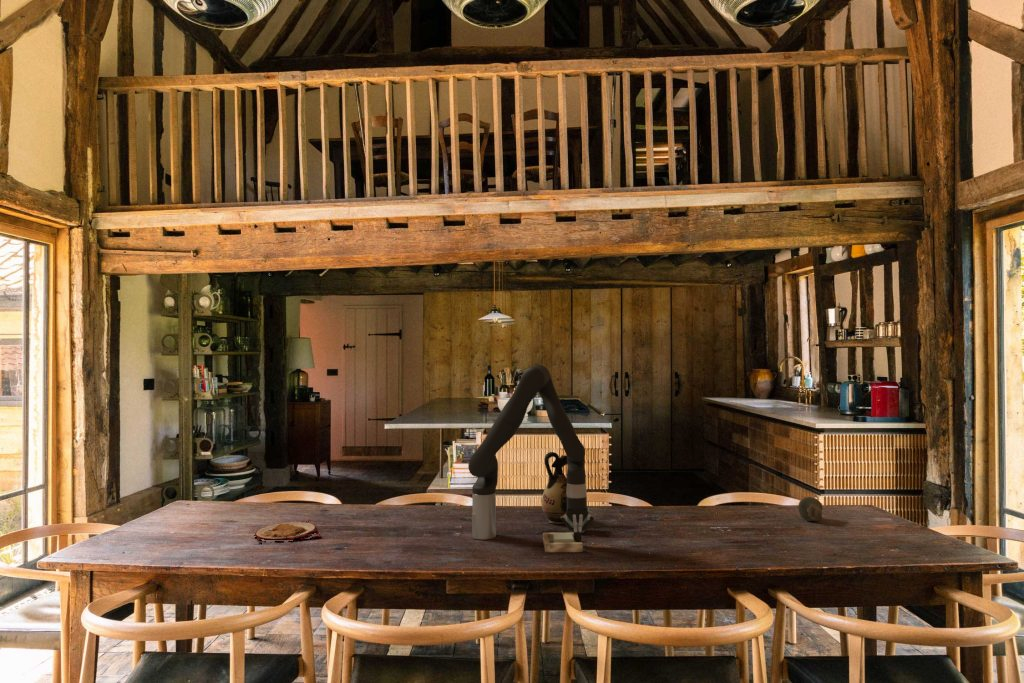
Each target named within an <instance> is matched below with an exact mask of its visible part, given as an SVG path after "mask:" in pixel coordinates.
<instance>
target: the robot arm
mask: <svg viewBox="0 0 1024 683" xmlns="http://www.w3.org/2000/svg"><path fill="white" fill-rule="evenodd" d="M537 394H539V395H540V398H541V399H542V402H543V404H544V407H545V411H546V414H547V417H548V421H549V422H550V425H551V427H552V429H553V430H554V433H555V435H556V436H557V437H558V439H559V441H560V444H561V446H562V448H563V450H564V452H565V454H566V456H567V464H566V465H567V467H566V468H567V470H566V478H567V492H566V494H567V510H566V514H565V515H564V516H561V520H562V521H563V523H564V524H563V525H564V526H566V528H567V529H568V530H569V532H571V531H573V533H574V540H575V542H581V541H582V533H581V532H582V531H584V530H585V531H586V530H587V529H588V528H589V526H590V525H591V524H592V522H593V521H594V520H595V518H594V516H593V515H592V514H590V512H589V513H588V510H587V507H588V499H587V498H588V495H587V494H588V492H587V483H586V481H587V478H586V477H587V476H586V470H585V468H586V467H585V464H586V463H585V456H586V449H585V446H584V444H583V443H582V442H581V441H580V438H579V436H578V435H577V432H576V430H575V428H574V425H573V423H572V421H571V420H570V417H569V416H568V414H567V413H566V411H565V408H564V406H563V405H562V403H561V400H560V397H559V396H558V393H557V391H556V388H555V385H554V382H553V379H552V376H551V374H550V372H549V370H548V368H547V367H546V366H545V365H542V364H534V365H531V366H529V367H527V368H526V369H525V370H524V371H523V373H522V375H521V377H520V379H519V381H518V383H517V386H516V388H515V390H514V392H513V393H512V395H511V396H510V398H509V399H508V400H507V402H506V403H505V405H504V406H503V407H502V409H501V410H500V412H499V413H498V416H497V417H496V419H495V420H494V422H493V424H492V426H491V427H490V429H489V430H488V432H487V434H486V435H485V438H484V440H483V441H482V442H481V443H480V445H479V446H478V447H477V449H476V450H475V451H474V452H473V453H472V454H471V457H470V458H469V461H468V463H467V464H468V472H469V473H470V474H471V476H473V477H477V479H476V481H475V483H474V484H473V485H472V488H471V489H472V490H471V491H472V494H471V495H472V500H471V501H472V510H471V511H472V514H471V536H472V537H471V539H475V540H491V539H494V538H496V536H497V529H496V528H497V526H496V525H497V521H496V519H497V518H496V517H497V516H496V514H497V513H496V511H497V510H496V509H497V508H496V506H497V505H496V502H497V501H496V499H497V498H496V494H497V493H496V491H497V487H498V482H499V480H498V478H499V463H498V458H497V456H496V455H497V453H498V452H499V451H500V449H502V448H503V447H504V446H505V445H506V444H507V443H508V442H509V441H510V440H511V439H512V438H513V437H514V436H515V434H516V433H517V431H518V430H519V428H520V427H521V425H522V423H523V421H524V419H525V417H526V414H527V412H528V411H527V410H528V407H529V406H530V404H531V402H532V401H533V399H534V398H535V397H536V395H537ZM567 517H568V518H569V519H570V521H571V522H573V527H572V526H571V525H570V524H569V523H568V522H567ZM586 517H587V521H586V522H585V524H584V525H583V526H582V522H583V521H584V520H585V518H586ZM577 522H578V531H577Z"/></svg>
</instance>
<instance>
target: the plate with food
mask: <svg viewBox="0 0 1024 683" xmlns="http://www.w3.org/2000/svg"><path fill="white" fill-rule="evenodd" d="M305 521H306V522H305ZM305 521H291V522H289V521H288V522H284V523H283V522H280V523H274V524H270V525H268V526H265V527H263V528H259V529H260V530H258V529H257V530H256V531H255V532H256V533H255V535H254V534H253V536H256V537H257V538H255V539H256V540H257V541H260V539H264V540H294V539H297V538H299V539H301V540H304V539H305V538H308V537H310V536H312V535H311V534H314V533H316V534H318V535H319V536H314V537H313V538H312V539H314V538H320V537H321V536H322V534H321V533H320V532H319V530H318V528H317V525H316V524H315V523H308V522H309V521H310V522H311V520H309V519H308V522H307V520H305ZM268 530H272V532H269V531H268ZM265 531H268V532H266V533H264V532H265ZM299 533H300V535H297V534H299ZM272 537H278V538H272ZM279 537H281V538H279ZM285 537H286V538H285Z"/></svg>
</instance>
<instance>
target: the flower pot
mask: <svg viewBox="0 0 1024 683" xmlns="http://www.w3.org/2000/svg"><path fill="white" fill-rule="evenodd" d="M587 510H588V513H589V514H590V507H588V506H587ZM586 521H587V517H586V518H585V520H584V521H583V522H582V526H583V525H584V524H585V522H586ZM567 522H568V523H569V524H570V525H571V526H572V527H573V522H571V521H570V519H569V518H568V517H567ZM577 531H578V522H577ZM571 532H573V531H570V533H571ZM585 532H586V530H584V531H582V532H581V534H584V533H585Z"/></svg>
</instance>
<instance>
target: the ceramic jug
mask: <svg viewBox="0 0 1024 683" xmlns="http://www.w3.org/2000/svg"><path fill="white" fill-rule="evenodd" d="M550 458H555V459H554V461H553V462H552V464H551V466H550V463H549V461H550ZM566 465H567V455H564V454H562V455H561V456H560V455H559V454H558V453H557V452H553V451H549V452H547V453H546V454H545V456H544V466H545V469H546V472H547V474H548V483H547V484H546V486H545V488H544V490H543V492H542V493H543V494H542V496H541V510H542V512H543V513H544V515H545V516H546V517H547V519H548V522H549V523H550V524H558V525H565V524H564V523H563V521H562V520H561V516H564V515H565V514H566V510H567V494H566V492H567V476H566V475H565V473H564V470H563V468H564V467H565V466H566ZM551 468H554V472H552V469H551Z"/></svg>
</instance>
